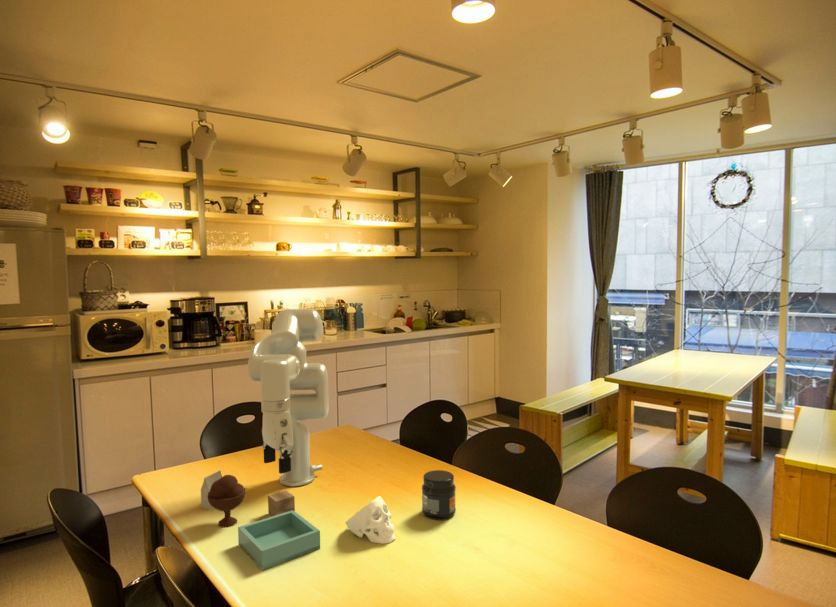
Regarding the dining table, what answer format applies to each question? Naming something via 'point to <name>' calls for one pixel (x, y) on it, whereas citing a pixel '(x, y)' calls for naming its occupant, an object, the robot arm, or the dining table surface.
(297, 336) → the robot arm
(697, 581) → the dining table surface
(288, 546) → the stoneware box
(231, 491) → the ice cream bowl
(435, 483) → the supplement container
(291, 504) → the walnut cube
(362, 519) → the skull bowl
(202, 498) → the tea bag
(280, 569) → the dining table surface
